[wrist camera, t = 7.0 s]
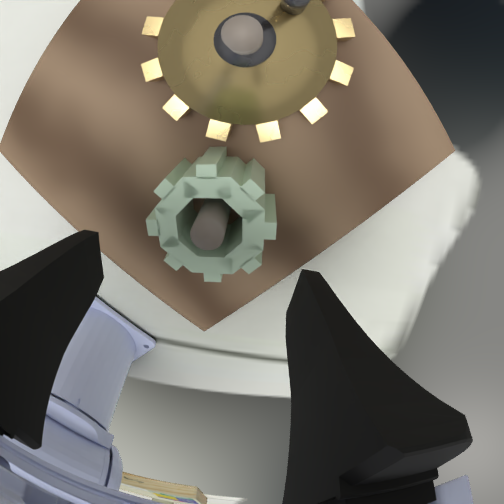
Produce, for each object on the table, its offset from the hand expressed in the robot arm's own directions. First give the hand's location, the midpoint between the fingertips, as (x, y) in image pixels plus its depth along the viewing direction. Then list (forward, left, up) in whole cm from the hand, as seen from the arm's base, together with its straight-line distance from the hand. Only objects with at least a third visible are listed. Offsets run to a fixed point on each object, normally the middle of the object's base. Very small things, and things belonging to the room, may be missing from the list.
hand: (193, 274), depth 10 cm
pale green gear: (0, 0, -6) cm, 6 cm away
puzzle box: (-87, -47, -8) cm, 99 cm away
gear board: (+2, +4, -7) cm, 8 cm away
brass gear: (+7, +5, -6) cm, 10 cm away
